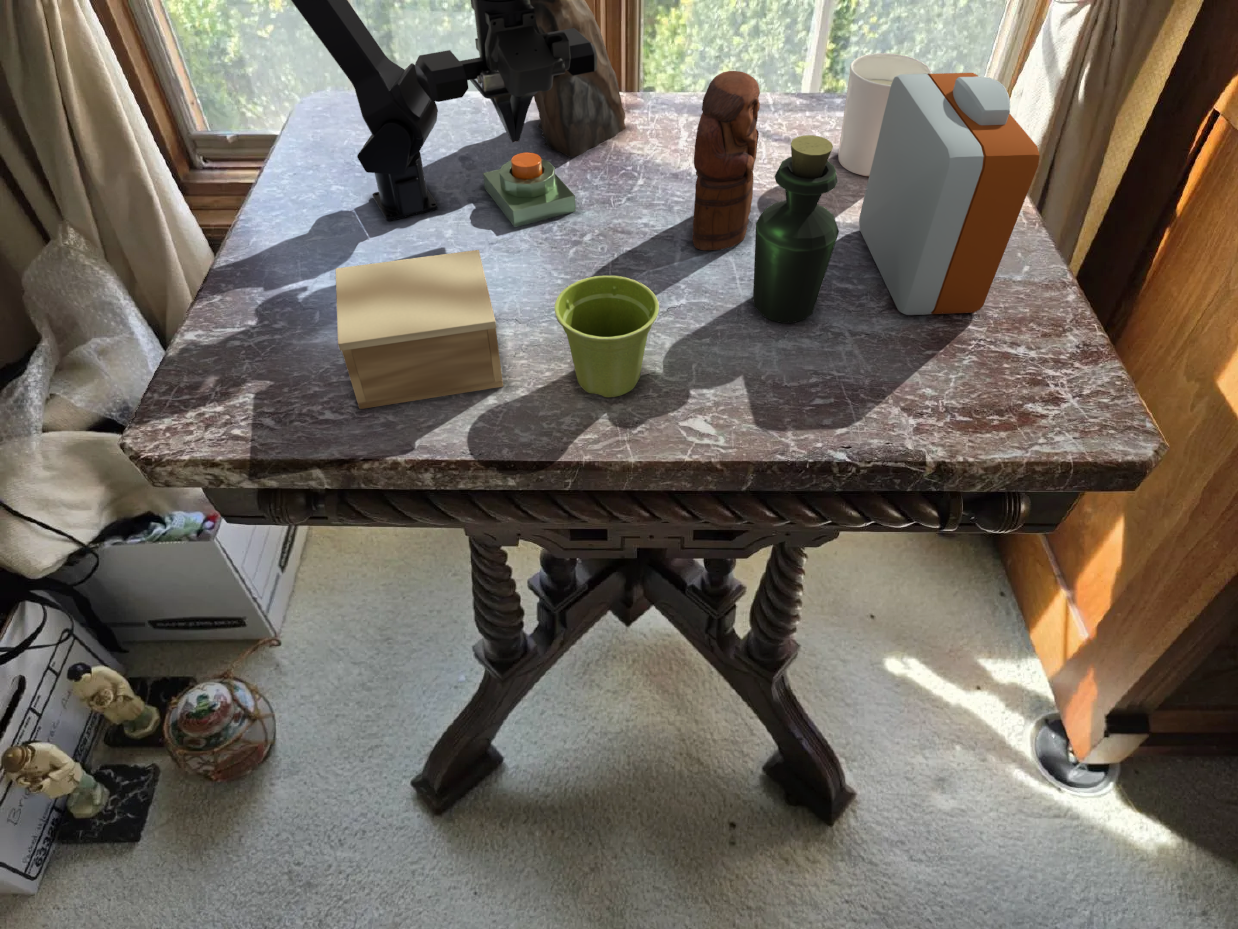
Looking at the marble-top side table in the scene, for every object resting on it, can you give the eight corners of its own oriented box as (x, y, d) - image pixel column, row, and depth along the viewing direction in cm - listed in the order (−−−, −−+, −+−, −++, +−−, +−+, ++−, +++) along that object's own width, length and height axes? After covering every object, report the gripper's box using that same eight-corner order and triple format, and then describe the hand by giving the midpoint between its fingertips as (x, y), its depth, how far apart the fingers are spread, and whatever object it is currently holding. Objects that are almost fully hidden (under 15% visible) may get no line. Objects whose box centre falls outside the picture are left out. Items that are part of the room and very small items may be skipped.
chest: (503, 386, 82) (495, 322, 76) (359, 409, 80) (339, 344, 74) (488, 320, 89) (479, 256, 83) (355, 339, 87) (337, 275, 81)
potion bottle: (805, 278, 94) (836, 120, 81) (833, 323, 89) (871, 161, 75) (735, 288, 93) (755, 128, 80) (759, 333, 87) (785, 171, 74)
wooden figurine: (738, 259, 97) (757, 102, 83) (683, 250, 98) (694, 94, 85) (756, 206, 104) (776, 55, 91) (705, 199, 105) (718, 48, 92)
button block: (484, 189, 107) (481, 159, 104) (543, 174, 109) (541, 145, 106) (514, 227, 101) (511, 197, 98) (575, 211, 103) (574, 181, 100)
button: (507, 169, 103) (506, 156, 102) (535, 163, 104) (534, 149, 103) (519, 183, 101) (517, 169, 100) (546, 176, 102) (546, 162, 101)
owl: (570, 163, 111) (564, -1, 97) (501, 135, 117) (485, -25, 102) (630, 128, 118) (632, -30, 103) (562, 103, 123) (554, -52, 109)
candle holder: (917, 156, 113) (943, 63, 104) (891, 187, 107) (916, 93, 99) (848, 137, 117) (867, 46, 108) (820, 167, 111) (837, 73, 102)
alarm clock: (981, 318, 89) (1056, 129, 74) (900, 321, 89) (958, 132, 74) (926, 223, 102) (981, 45, 87) (854, 225, 101) (897, 47, 86)
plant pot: (585, 423, 78) (582, 350, 72) (543, 364, 84) (538, 291, 78) (673, 391, 81) (678, 319, 75) (627, 336, 87) (628, 264, 81)
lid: (496, 328, 75) (495, 321, 75) (339, 351, 73) (337, 343, 73) (479, 256, 83) (478, 249, 82) (337, 275, 81) (335, 268, 80)
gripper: (435, 35, 77) (458, 191, 89) (619, 3, 83) (618, 154, 94) (401, -5, 84) (427, 145, 96) (573, -32, 90) (578, 113, 101)
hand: (514, 140), depth 97 cm, fingers closed
